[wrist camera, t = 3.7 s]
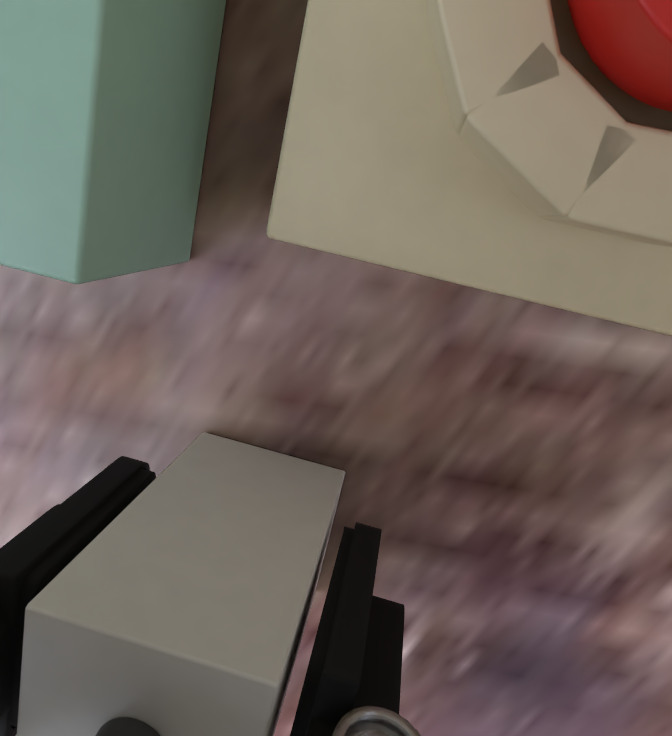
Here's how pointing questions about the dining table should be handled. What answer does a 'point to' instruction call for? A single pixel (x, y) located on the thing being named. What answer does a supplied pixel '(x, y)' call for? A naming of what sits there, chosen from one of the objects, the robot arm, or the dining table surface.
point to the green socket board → (103, 132)
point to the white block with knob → (184, 602)
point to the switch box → (478, 156)
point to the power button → (629, 44)
